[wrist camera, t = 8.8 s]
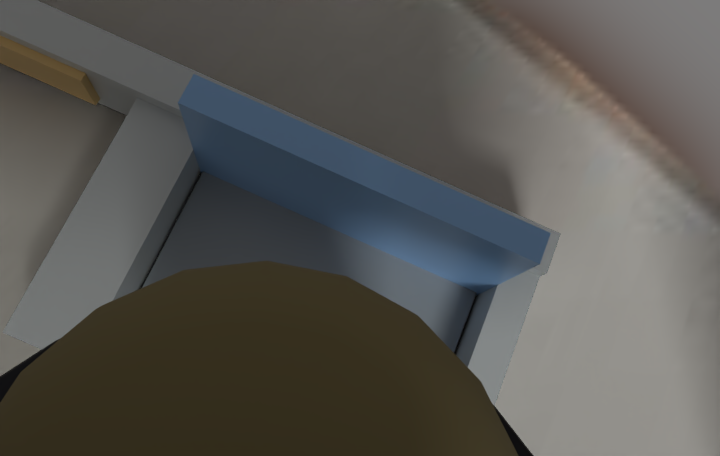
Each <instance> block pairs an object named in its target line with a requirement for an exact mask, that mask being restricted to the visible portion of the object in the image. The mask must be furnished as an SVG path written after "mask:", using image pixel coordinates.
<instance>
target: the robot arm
mask: <svg viewBox="0 0 720 456" xmlns="http://www.w3.org/2000/svg"><path fill="white" fill-rule="evenodd" d="M60 339H61V338H60ZM58 340H59V339H58ZM58 340H56V341H54V342H53V343H51V344H49V345H48V346H46V347H45V348H43V349H42V350H40V351H39V352H37V353H36V354H34V355H32V356H31V357H29V358H28V359H26V360H25V361H23V362H22V363H20V364H19V365H17V366H16V367H14V368H12V369H11V370H9V371H8V372H6V373H5V374H3V375H2V376H0V402H1V401H2V399H3V398H4V396H5V395H6V393H7V392H8V390H9V389H10V387H11V386H12V384H13V383H14V381H15V380H16V378H17V377H18V375H19V374H20V372H21V371H22V370H24V369H25V368H26V367H27V366H28V365H30V364H31V363H32V362H33V361H34V360H36V359H37V358H38V357H39V356H40V355H42V354H43V353H44V352H45V351H46V350H47V349H49V348H50V347H51V346H52V345H53V344H55V343H56V342H57V341H58ZM493 406H494V405H493ZM494 408H495V410H496V412H497V414H498V416H499V418H500V420H501V422H502V424H503V426H504V428H505V430H506V432H507V434H508V436H509V438H510V440H511V442H512V444H513V446H514V448H515V450H516V452H517V454H518V456H533V455H532V453H531V452H530V451H529V449H528V448H527V447H526V446H525V444H524V443H523V442H522V440H521V439H520V438H519V437H518V435H517V434H516V433H515V432H514V430H513V429H512V428H511V426H510V425H509V424H508V423H507V421H506V420H505V419H504V417H503V416H502V415H501V414H500V412H499V411H498V410H497V408H496V407H495V406H494Z"/></svg>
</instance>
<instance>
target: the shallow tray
mask: <svg viewBox="0 0 720 456" xmlns="http://www.w3.org/2000/svg"><path fill="white" fill-rule="evenodd" d="M0 63H1V64H4V65H6V66H8V67H10V68H13V69H15V70H17V71H19V72H22V73H24V74H26V75H28V76H31V77H33V78H35V79H37V80H40V81H42V82H44V83H46V84H49V85H51V86H53V87H55V88H58V89H60V90H62V91H64V92H67V93H69V94H71V95H73V96H76V97H78V98H80V99H82V100H85V101H87V102H89V103H91V104H94V105H97V103H100V104H102V105H104V106H107V107H109V108H111V109H113V110H116V111H118V112H120V113H122V114H125V115H127V116H126V118H125V120H124V122H123V123H122V125H121V127H120V128H119V130H118V132H117V134H116V135H115V137H114V139H113V141H112V142H111V144H110V146H109V148H108V149H107V151H106V153H105V155H104V156H103V158H102V160H101V162H100V163H99V165H98V167H97V169H96V170H95V172H94V174H93V176H92V177H91V179H90V181H89V182H88V184H87V186H86V188H85V189H84V191H83V193H82V195H81V196H80V198H79V200H78V202H77V203H76V205H75V207H74V209H73V210H72V212H71V214H70V216H69V217H68V219H67V221H66V223H65V224H64V226H63V228H62V229H61V231H60V233H59V235H58V236H57V238H56V240H55V242H54V243H53V245H52V247H51V249H50V250H49V252H48V254H47V256H46V257H45V259H44V261H43V263H42V264H41V266H40V268H39V270H38V271H37V273H36V275H35V277H34V278H33V280H32V282H31V283H30V285H29V287H28V289H27V290H26V292H25V294H24V296H23V297H22V299H21V301H20V303H19V304H18V306H17V308H16V310H15V311H14V313H13V315H12V317H11V318H10V320H9V322H8V324H7V325H6V327H5V329H4V330H3V333H5V334H7V335H10V336H12V337H14V338H16V339H19V340H21V341H23V342H26V343H28V344H30V345H32V346H35V347H37V348H39V349H43V348H45V347H46V346H48V345H49V344H51V343H53V342H54V341H56V340H58V339H60V338H62V337H63V336H64V335H65V334H67V333H68V332H69V331H70V330H71V329H72V328H74V327H75V326H76V325H77V324H78V323H80V322H81V321H82V320H83V319H84V318H86V317H87V316H88V315H89V314H90V313H92V312H93V311H94V310H95V309H97V308H99V307H100V306H102V305H104V304H106V303H109V302H111V301H113V300H116V299H118V298H120V297H122V296H125V295H127V294H129V293H132V292H134V291H136V290H139V289H141V287H142V285H143V283H144V281H145V279H146V277H147V275H148V273H149V271H150V270H151V268H152V266H153V264H154V262H155V260H156V258H157V256H158V254H159V252H160V250H161V249H162V247H163V245H164V243H165V241H166V239H167V237H168V235H169V233H170V231H171V230H172V228H173V226H174V224H175V222H176V220H177V218H178V216H179V214H180V212H181V210H182V209H183V207H184V205H185V203H186V201H187V199H188V197H189V195H190V193H191V191H192V189H193V188H194V186H195V184H196V182H197V180H198V178H199V176H200V174H201V173H202V174H201V176H200V178H199V180H198V182H197V184H196V186H195V188H194V190H193V192H192V193H191V195H190V197H189V199H188V201H187V203H186V205H185V207H184V209H183V211H182V213H181V214H180V216H179V218H178V220H177V222H176V224H175V226H174V228H173V230H172V232H171V234H170V235H169V237H168V239H167V241H166V243H165V245H164V247H163V249H162V251H161V253H160V254H159V256H158V258H157V260H156V262H155V264H154V266H153V268H152V270H151V272H150V274H149V275H148V277H147V279H146V281H145V283H144V285H143V287H145V286H148V285H150V284H152V283H155V282H157V281H159V280H162V279H164V278H166V277H168V276H171V275H173V274H175V273H178V272H180V271H182V270H187V269H196V268H205V267H214V266H223V265H232V264H240V263H249V262H258V261H272V262H277V263H282V264H287V265H292V266H298V267H303V268H308V269H313V270H318V271H323V272H328V273H333V274H338V275H343V276H347V277H349V278H351V279H353V280H355V281H357V282H358V283H360V284H362V285H364V286H366V287H367V288H369V289H371V290H373V291H375V292H377V293H378V294H380V295H382V296H384V297H386V298H387V299H389V300H391V301H393V302H395V303H397V304H398V305H400V306H402V307H404V308H406V309H407V310H409V311H411V312H413V313H415V314H417V315H418V316H419V317H420V318H421V319H422V320H423V321H424V322H425V323H426V324H427V325H428V326H429V327H430V329H431V330H432V331H433V332H434V333H435V334H436V335H437V336H438V337H439V338H440V339H441V340H442V341H443V342H444V343H445V344H446V345H447V346H448V347H449V348H450V349H451V350H452V352H453V353H454V351H455V348H456V346H457V343H458V340H459V338H460V335H461V333H462V330H463V327H464V325H465V322H466V319H467V317H468V314H469V311H470V309H471V306H472V303H473V301H474V298H475V295H477V296H476V298H475V301H474V304H473V306H472V309H471V312H470V314H469V317H468V320H467V322H466V325H465V328H464V330H463V333H462V336H461V338H460V341H459V344H458V346H457V349H456V352H455V355H456V356H457V357H458V358H459V359H460V360H461V361H462V362H463V363H464V364H465V365H466V366H467V367H468V368H469V369H470V370H471V371H472V372H473V374H474V375H475V376H476V377H477V378H478V379H479V380H480V381H481V382H482V384H483V386H484V388H485V390H486V392H487V394H488V396H489V398H490V400H491V402H492V404H493V405H494V406H495V403H496V400H497V397H498V394H499V391H500V388H501V386H502V383H503V380H504V377H505V374H506V371H507V368H508V366H509V363H510V360H511V357H512V354H513V351H514V348H515V346H516V343H517V340H518V337H519V334H520V331H521V328H522V326H523V323H524V320H525V317H526V314H527V311H528V309H529V306H530V303H531V300H532V297H533V294H534V291H535V289H536V286H537V283H538V280H539V277H540V276H542V275H544V274H547V271H548V268H549V266H550V263H551V260H552V257H553V254H554V251H555V248H556V245H557V243H558V240H559V237H560V233H558V232H556V231H554V230H551V229H549V228H547V227H545V226H542V225H540V224H538V223H536V222H533V221H531V220H529V219H527V218H524V217H522V216H520V215H518V214H515V213H513V212H511V211H509V210H506V209H504V208H502V207H500V206H498V205H495V204H493V203H491V202H489V201H486V200H484V199H482V198H480V197H477V196H475V195H473V194H471V193H468V192H466V191H464V190H462V189H459V188H457V187H455V186H453V185H450V184H448V183H446V182H444V181H442V180H439V179H437V178H435V177H433V176H430V175H428V174H426V173H424V172H421V171H419V170H417V169H415V168H412V167H410V166H408V165H406V164H403V163H401V162H399V161H397V160H394V159H392V158H390V157H388V156H385V155H383V154H381V153H379V152H377V151H374V150H372V149H370V148H368V147H365V146H363V145H361V144H359V143H356V142H354V141H352V140H350V139H347V138H345V137H343V136H341V135H338V134H336V133H334V132H332V131H329V130H327V129H325V128H323V127H321V126H318V125H316V124H314V123H312V122H309V121H307V120H305V119H303V118H300V117H298V116H296V115H294V114H291V113H289V112H287V111H285V110H282V109H280V108H278V107H276V106H273V105H271V104H269V103H267V102H265V101H262V100H260V99H258V98H256V97H253V96H251V95H249V94H247V93H244V92H242V91H240V90H238V89H235V88H233V87H231V86H229V85H226V84H224V83H222V82H220V81H217V80H215V79H213V78H211V77H208V76H206V75H204V74H202V73H200V72H197V71H195V70H193V69H191V68H188V67H186V66H184V65H182V64H179V63H177V62H175V61H173V60H170V59H168V58H166V57H164V56H161V55H159V54H157V53H155V52H152V51H150V50H148V49H146V48H144V47H141V46H139V45H137V44H135V43H132V42H130V41H128V40H126V39H123V38H121V37H119V36H117V35H114V34H112V33H110V32H108V31H105V30H103V29H101V28H99V27H96V26H94V25H92V24H90V23H88V22H85V21H83V20H81V19H79V18H76V17H74V16H72V15H70V14H67V13H65V12H63V11H61V10H58V9H56V8H54V7H52V6H49V5H47V4H45V3H43V2H40V1H38V0H0ZM143 287H142V288H143Z"/></svg>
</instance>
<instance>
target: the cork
mask: <svg viewBox="0 0 720 456" xmlns="http://www.w3.org/2000/svg"><path fill="white" fill-rule="evenodd" d="M0 456H518V454H517V452H516V450H515V448H514V446H513V444H512V442H511V440H510V438H509V436H508V434H507V432H506V430H505V428H504V426H503V424H502V422H501V420H500V418H499V416H498V414H497V412H496V410H495V408H494V406H493V404H492V402H491V400H490V398H489V396H488V394H487V392H486V390H485V388H484V386H483V384H482V382H481V381H480V380H479V379H478V378H477V377H476V376H475V375H474V374H473V372H472V371H471V370H470V369H469V368H468V367H467V366H466V365H465V364H464V363H463V362H462V361H461V360H460V359H459V358H458V357H457V356H456V355H455V354H454V353H453V352H452V350H451V349H450V348H449V347H448V346H447V345H446V344H445V343H444V342H443V341H442V340H441V339H440V338H439V337H438V336H437V335H436V334H435V333H434V332H433V331H432V330H431V329H430V327H429V326H428V325H427V324H426V323H425V322H424V321H423V320H422V319H421V318H420V317H419V316H418V315H417V314H415V313H413V312H411V311H409V310H407V309H406V308H404V307H402V306H400V305H398V304H397V303H395V302H393V301H391V300H389V299H387V298H386V297H384V296H382V295H380V294H378V293H377V292H375V291H373V290H371V289H369V288H367V287H366V286H364V285H362V284H360V283H358V282H357V281H355V280H353V279H351V278H349V277H347V276H343V275H338V274H333V273H328V272H323V271H318V270H313V269H308V268H303V267H298V266H292V265H287V264H282V263H277V262H272V261H258V262H249V263H240V264H232V265H223V266H214V267H205V268H196V269H187V270H182V271H180V272H178V273H175V274H173V275H171V276H168V277H166V278H164V279H162V280H159V281H157V282H155V283H152V284H150V285H148V286H145V287H143V288H141V289H139V290H136V291H134V292H132V293H129V294H127V295H125V296H122V297H120V298H118V299H116V300H113V301H111V302H109V303H106V304H104V305H102V306H100V307H99V308H97V309H95V310H94V311H93V312H92V313H90V314H89V315H88V316H87V317H86V318H84V319H83V320H82V321H81V322H80V323H78V324H77V325H76V326H75V327H74V328H72V329H71V330H70V331H69V332H68V333H67V334H65V335H64V336H63V337H62V338H61V339H59V340H58V341H57V342H56V343H55V344H53V345H52V346H51V347H50V348H49V349H47V350H46V351H45V352H44V353H43V354H42V355H40V356H39V357H38V358H37V359H36V360H34V361H33V362H32V363H31V364H30V365H28V366H27V367H26V368H25V369H24V370H22V371H21V372H20V374H19V375H18V377H17V378H16V380H15V381H14V383H13V384H12V386H11V387H10V389H9V390H8V392H7V393H6V395H5V396H4V398H3V399H2V401H1V402H0Z"/></svg>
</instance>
